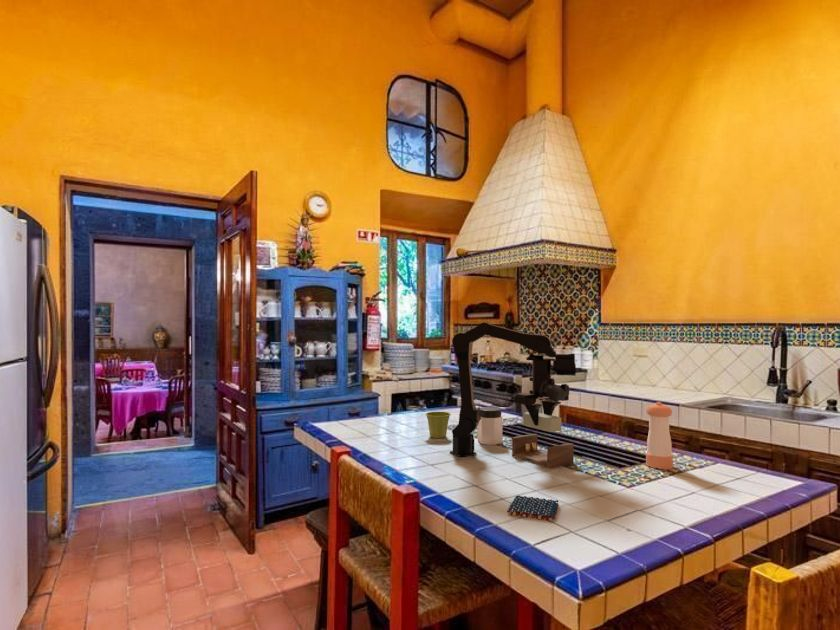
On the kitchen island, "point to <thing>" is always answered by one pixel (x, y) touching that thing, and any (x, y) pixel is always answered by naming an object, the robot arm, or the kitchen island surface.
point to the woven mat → (533, 508)
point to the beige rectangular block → (543, 422)
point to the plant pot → (438, 423)
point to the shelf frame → (542, 452)
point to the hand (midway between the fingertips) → (541, 424)
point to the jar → (490, 426)
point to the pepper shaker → (659, 437)
